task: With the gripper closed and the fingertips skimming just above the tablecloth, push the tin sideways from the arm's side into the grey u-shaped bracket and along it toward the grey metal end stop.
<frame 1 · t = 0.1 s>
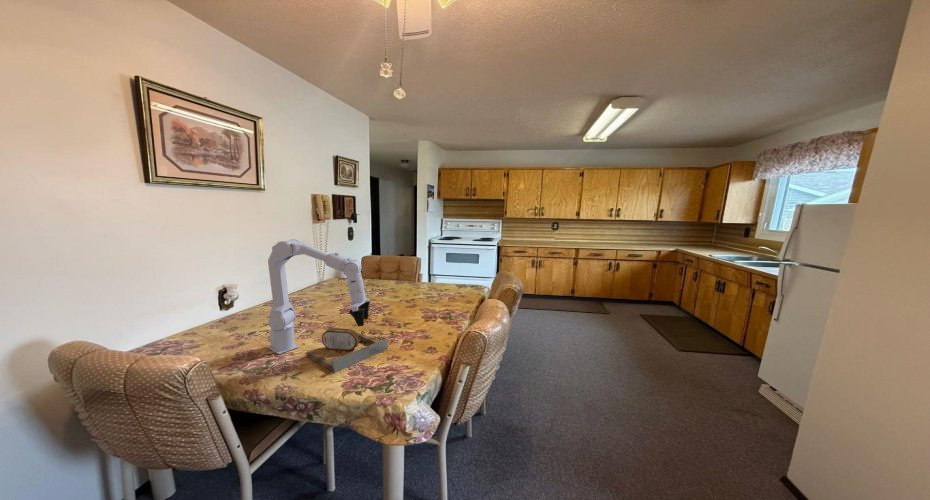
hand: (363, 322, 123), 11 cm above the table, tool pointing down, fingers open, 7 cm apart
grey u-shaped bracket: (347, 352, 119), on the table
tin: (340, 349, 122), on the table
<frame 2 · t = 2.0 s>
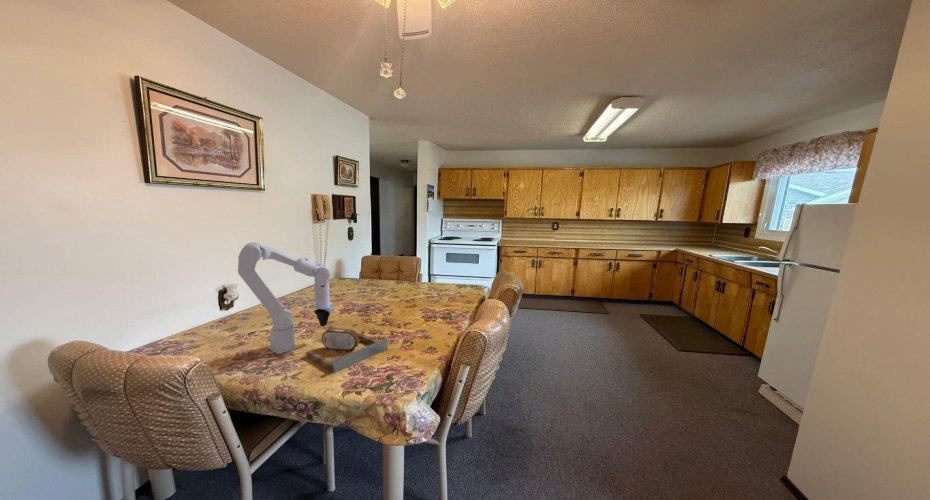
hand: (323, 325, 128), 7 cm above the table, tool pointing down, fingers closed
nothing on the table moved.
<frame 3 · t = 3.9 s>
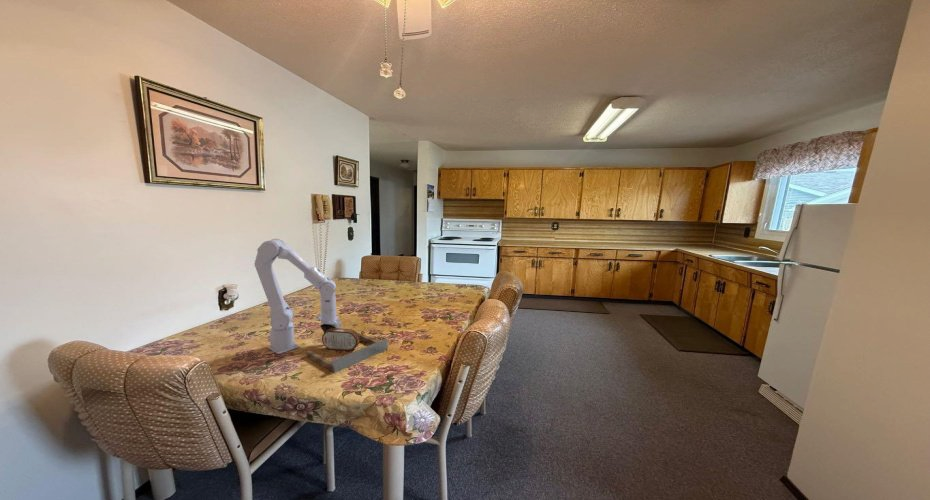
hand: (329, 340, 126), 1 cm above the table, tool pointing down, fingers closed
tin: (340, 349, 122), on the table, touching gripper
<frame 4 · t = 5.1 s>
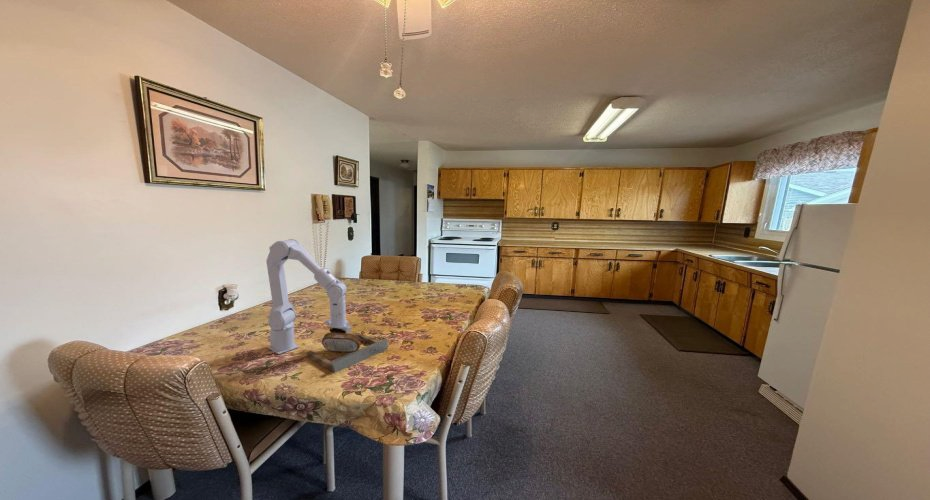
hand: (339, 344, 122), 1 cm above the table, tool pointing down, fingers closed
tin: (343, 350, 120), on the table, touching gripper
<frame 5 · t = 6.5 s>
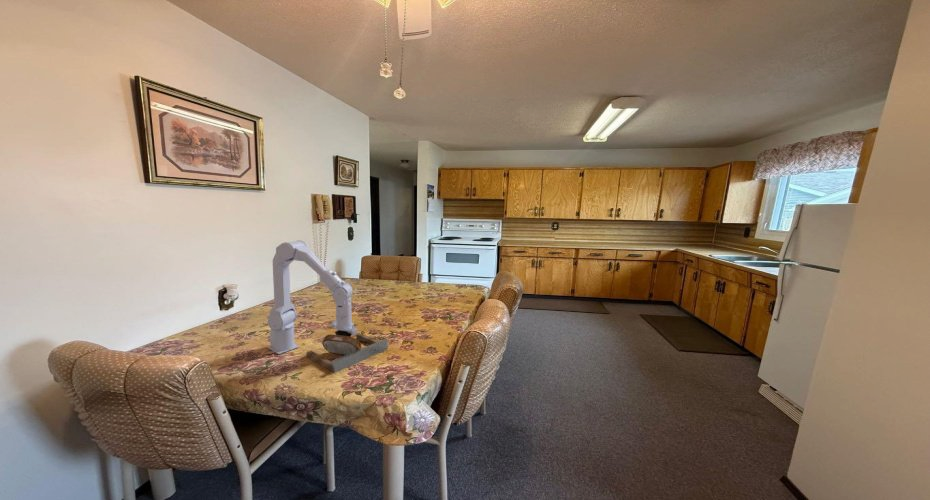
hand: (344, 347, 120), 1 cm above the table, tool pointing down, fingers closed
tin: (344, 353, 118), on the table, touching gripper
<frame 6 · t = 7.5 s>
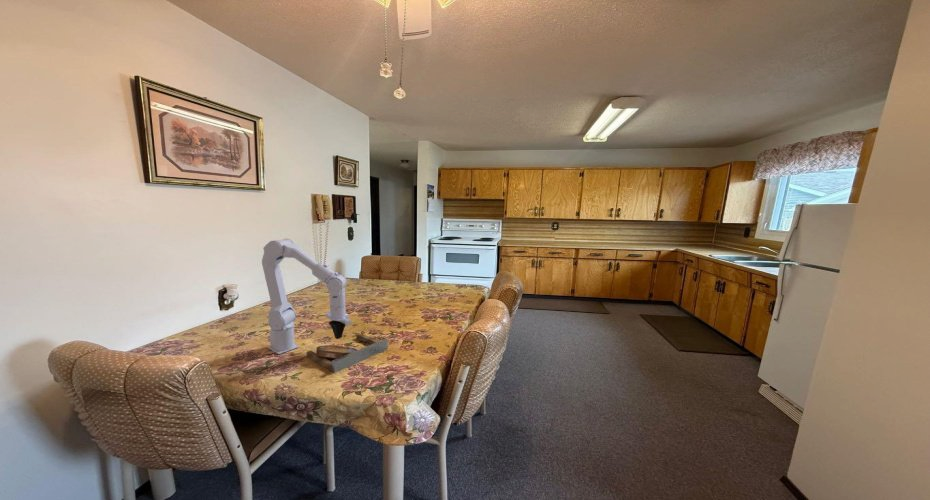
hand: (338, 338, 122), 4 cm above the table, tool pointing down, fingers closed
tin: (342, 350, 118), point 1 cm above the table, touching grey u-shaped bracket
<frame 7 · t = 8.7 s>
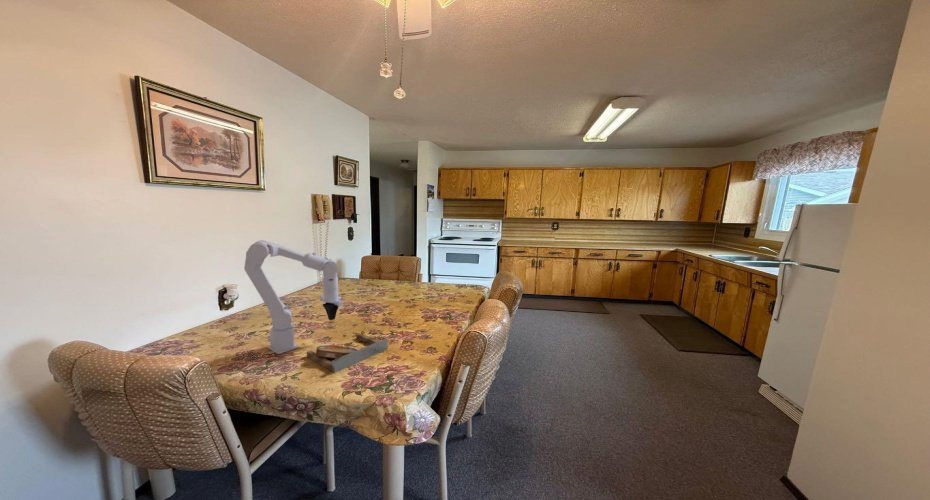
hand: (331, 319, 128), 9 cm above the table, tool pointing down, fingers closed
nothing on the table moved.
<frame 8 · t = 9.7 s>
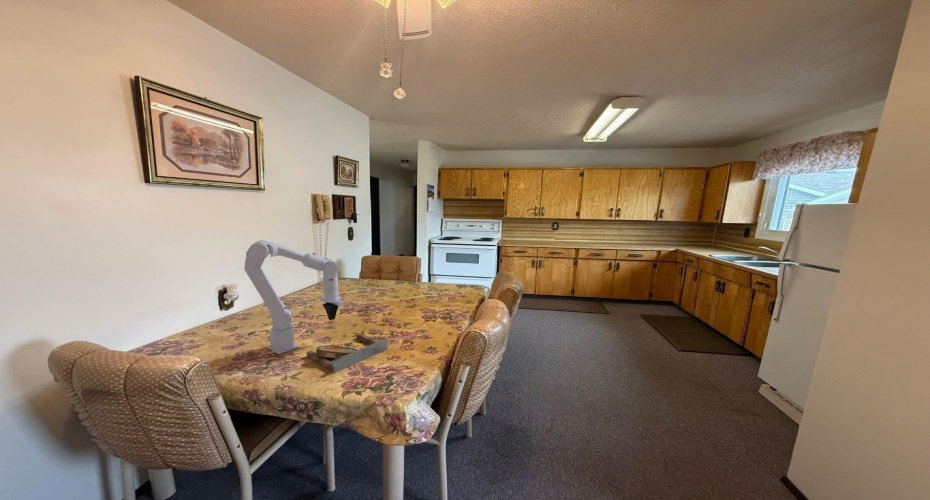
hand: (331, 319, 128), 9 cm above the table, tool pointing down, fingers closed
nothing on the table moved.
at the end: tin inside the target area (4.2 cm from its centre), point 1.2 cm above the table; tin moved 4.7 cm from its start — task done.
